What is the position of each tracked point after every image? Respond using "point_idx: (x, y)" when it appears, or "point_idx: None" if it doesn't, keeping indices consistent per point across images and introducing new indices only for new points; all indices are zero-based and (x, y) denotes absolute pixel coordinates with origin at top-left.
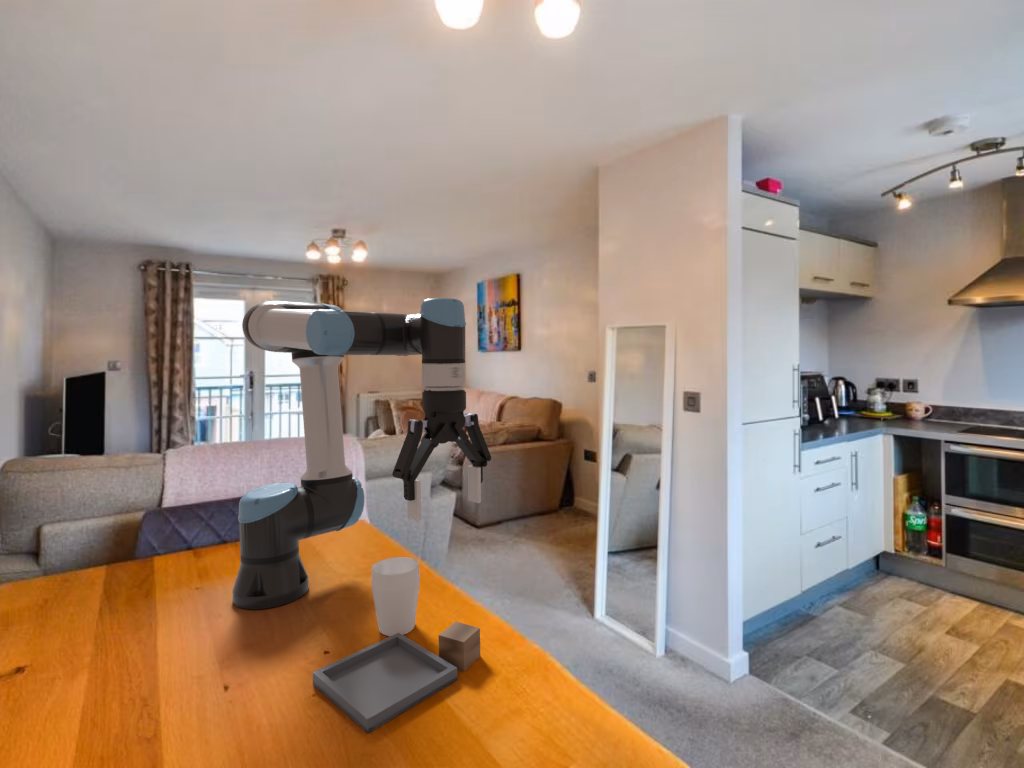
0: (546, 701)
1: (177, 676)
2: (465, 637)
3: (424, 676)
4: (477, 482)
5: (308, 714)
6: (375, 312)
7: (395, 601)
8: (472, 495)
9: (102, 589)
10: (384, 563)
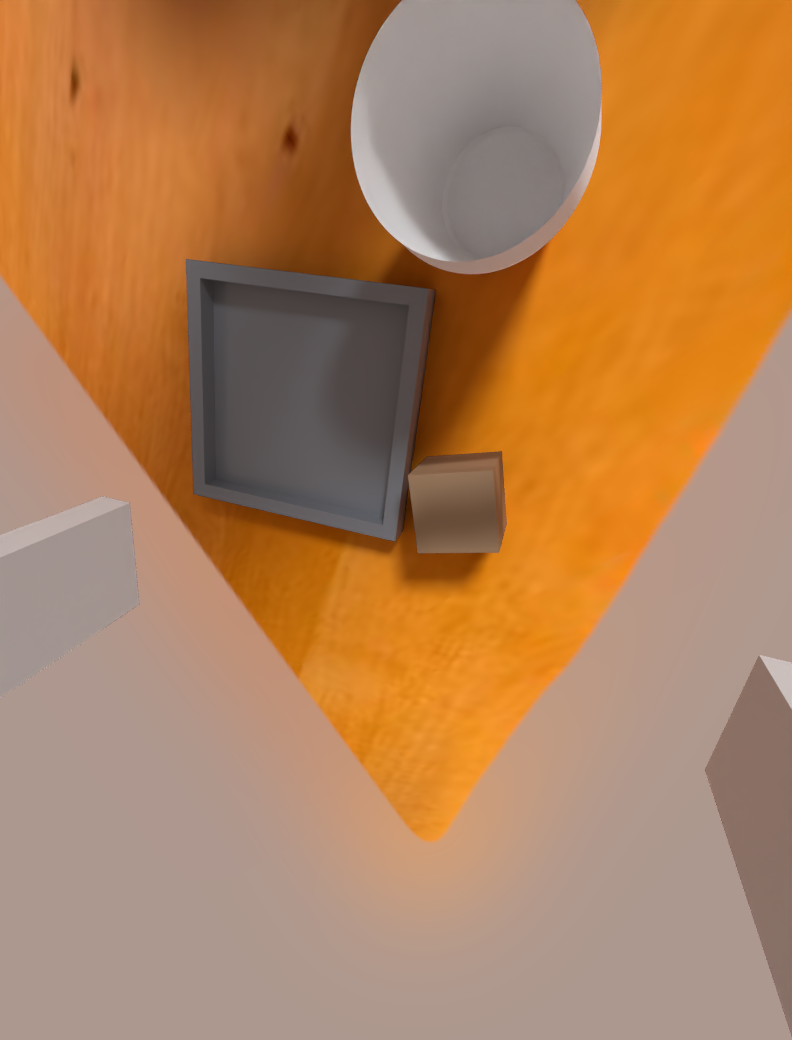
0: (446, 701)
1: None
2: (437, 545)
3: (359, 473)
4: (782, 1003)
5: (164, 349)
6: None
7: (419, 247)
8: (754, 759)
9: None
10: None
